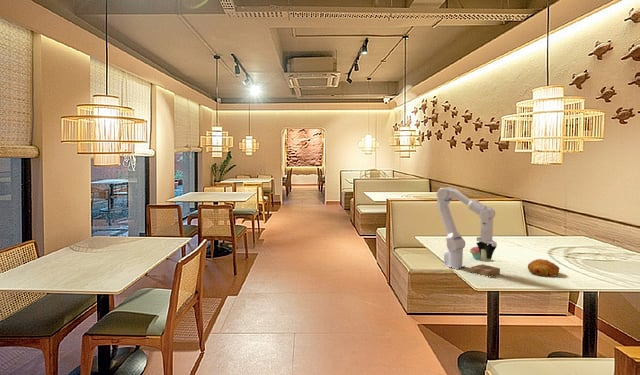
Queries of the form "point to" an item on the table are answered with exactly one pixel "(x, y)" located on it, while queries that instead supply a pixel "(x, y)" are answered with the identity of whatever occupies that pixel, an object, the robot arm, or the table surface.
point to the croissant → (543, 268)
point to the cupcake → (475, 252)
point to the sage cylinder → (484, 255)
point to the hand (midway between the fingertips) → (485, 257)
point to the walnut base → (485, 270)
